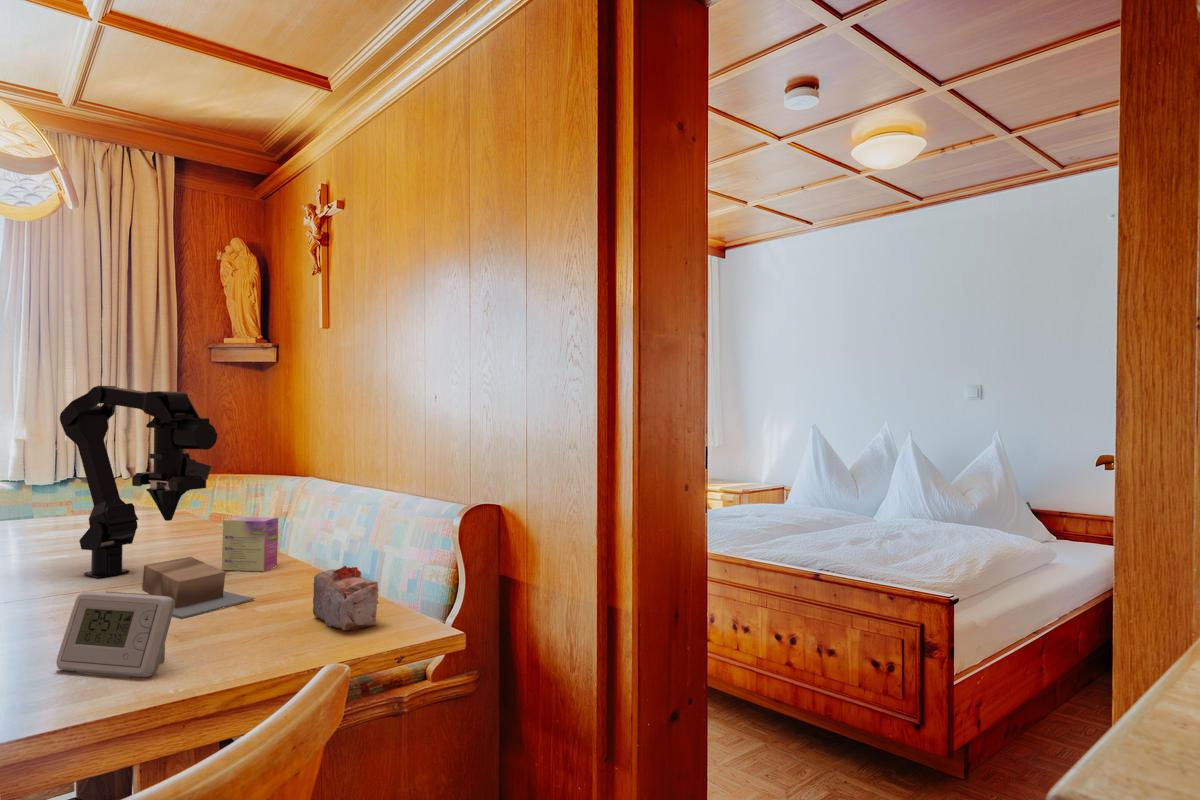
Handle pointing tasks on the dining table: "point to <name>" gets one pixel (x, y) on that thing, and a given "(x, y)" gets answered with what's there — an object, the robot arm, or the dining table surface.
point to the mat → (210, 605)
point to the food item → (345, 599)
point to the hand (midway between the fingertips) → (168, 520)
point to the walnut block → (184, 581)
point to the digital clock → (116, 634)
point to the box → (249, 543)
